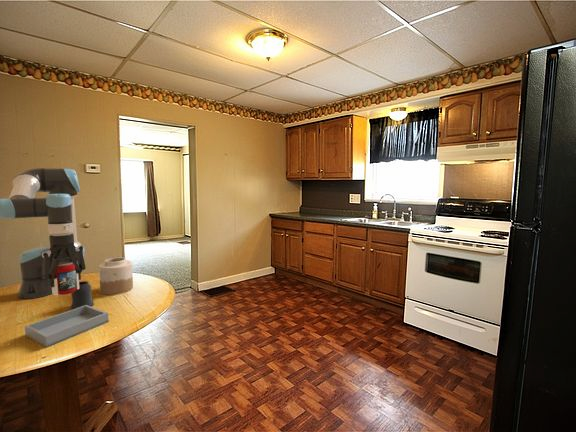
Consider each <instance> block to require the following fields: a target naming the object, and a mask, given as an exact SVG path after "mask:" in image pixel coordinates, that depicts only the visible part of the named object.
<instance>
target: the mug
mask: <svg viewBox="0 0 576 432" xmlns="http://www.w3.org/2000/svg"><path fill="white" fill-rule="evenodd" d="M71 297H72V298H71V299H72V303H71V306H70V310H73V309H76V308H79V307H82V306H84V305H88V306H91V307H94V306H95V301H94V300H93V299H92V285H90V283H89V281H85V280H82V281H81V280H80V281H79V289H77V290H76V291H74V292H73V293H71Z"/></svg>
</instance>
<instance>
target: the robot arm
mask: <svg viewBox="0 0 576 432" xmlns="http://www.w3.org/2000/svg"><path fill="white" fill-rule="evenodd" d="M12 187H13V188H12V190H11V193H10V195H9V197H7V198H0V219H11V220H12V219H13V220H14V219H27V218H28V219H30V218H47V227H48V234H49V236H48V237H49V239H48V240H49V247H48V246H43V247H35V248H32V249H28V250H25V251H23V252H22V253H20V255H19V264H20V272H21V273H20V274H21V284H20V286H19V290H18V297H19V298H20V299H24V300H26V299H28V300H29V299H36V298H42V297H47V296H50V295H54V296H58V295H59V294H58V285H57V278H54V277H55V274H56V271H57V268H58V265H59V262H65V261H70V262H73V264H74V265H75V272H76V286H77V289H79V282H80V281H81V278H82V272H83V271H85V270H86V262H85V246H83V245H82V243H81V242H79V241H78V234H77V233H78V232H77V220H76V208H75V207H76V206H75V205H76V204H75V198H76V197H77V196H78V193H80V192H81V188H80V184H79V178H78V175H77V172H76V171H75V169H74V168H73V169H72V168H54V167H53V168H49V167H48V168H45V167H43V168H42V167H35V168H30V169H27V170H23V171H22V172H20V173H18V174H17V175H16V176H15V177H14V178H13V180H12ZM36 193H48V194H46V196H45V197H36Z"/></svg>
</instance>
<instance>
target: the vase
mask: <svg viewBox="0 0 576 432" xmlns="http://www.w3.org/2000/svg"><path fill="white" fill-rule="evenodd" d="M98 276H99V290H100V291H99V292H100V294H102V295H105V296H112V295H114V296H115V295H122V294H124V293H127V292H129V291H131V290H132V289H133V288H134V283H133V282H134V281H133V279H134V278H133V263H132V261H130V260H127V259H126V257H120V256H119V257H118V256H117V257H110V258H106V259H105V260H104V262H102V263H101V264H99V266H98Z"/></svg>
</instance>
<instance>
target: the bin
mask: <svg viewBox="0 0 576 432" xmlns="http://www.w3.org/2000/svg"><path fill="white" fill-rule="evenodd" d="M109 321H110V320H109V312H108V311H104V310H102V309H100V308H95V307H94V306H92V307H91V306H88V305H84V306H82V307H79V308H76V309H73V310H71V309H70V310H68V311H67V310H66V311H63V312H62V313H59V314H55V315H53V316H50V317H47V318H44V319H41V320H38V321H36V322H33V323H30V324H27V325H24V332H25V333H24V335H25V337H27V336H28V337H30V338H31V339H30V338H29V339H30V340H32V339H33V341H34V340H35V341H34V342H36V341H37V343H38V344H40V345H41V346H43V347H46V348H49V347H51V346H54V345H57V344H59V343H61V342H63V341H66V340H69V339H71V338H73V337H75V336H79V335H80V334H82V333H86V332H88V331H90V330H93V329H94V328H97V327H100V326H102V325H104V324H107V323H109ZM28 337H27V338H28Z"/></svg>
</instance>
